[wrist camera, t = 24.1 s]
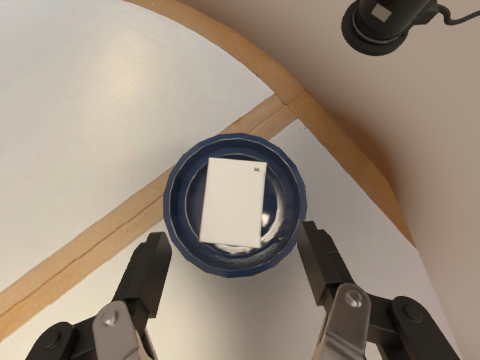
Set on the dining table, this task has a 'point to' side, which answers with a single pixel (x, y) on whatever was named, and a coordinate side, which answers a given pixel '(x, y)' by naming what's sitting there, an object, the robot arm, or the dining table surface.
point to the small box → (233, 202)
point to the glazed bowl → (273, 212)
